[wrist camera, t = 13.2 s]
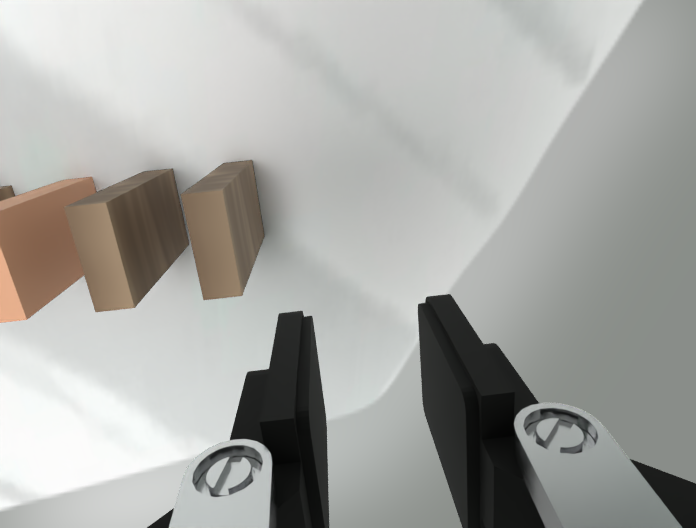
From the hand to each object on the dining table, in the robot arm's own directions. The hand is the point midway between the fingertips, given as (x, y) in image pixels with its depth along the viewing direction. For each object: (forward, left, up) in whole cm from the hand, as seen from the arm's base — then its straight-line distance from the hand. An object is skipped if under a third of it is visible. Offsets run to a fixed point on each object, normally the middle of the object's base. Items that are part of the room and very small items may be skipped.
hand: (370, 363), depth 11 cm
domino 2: (+11, 0, -21) cm, 24 cm away
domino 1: (+16, 0, -21) cm, 27 cm away
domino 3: (+6, 0, -21) cm, 22 cm away
